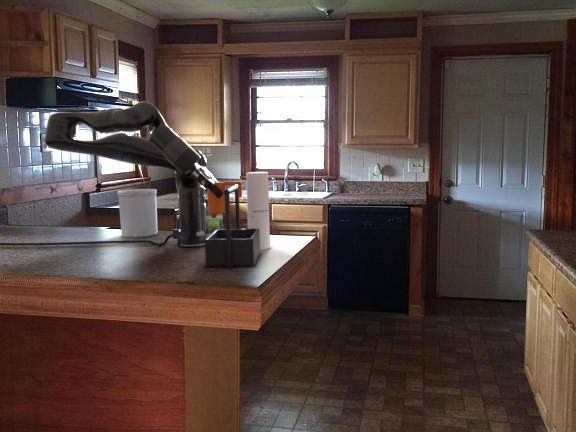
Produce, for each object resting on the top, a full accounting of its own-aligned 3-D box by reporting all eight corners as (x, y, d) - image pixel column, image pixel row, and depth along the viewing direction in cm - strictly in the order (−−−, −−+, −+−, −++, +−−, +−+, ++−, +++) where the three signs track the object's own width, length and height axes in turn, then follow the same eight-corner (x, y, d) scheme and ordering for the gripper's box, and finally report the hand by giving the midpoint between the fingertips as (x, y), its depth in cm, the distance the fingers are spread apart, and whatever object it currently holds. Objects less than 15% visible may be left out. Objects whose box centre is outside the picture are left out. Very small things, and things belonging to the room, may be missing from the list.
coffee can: (227, 234, 245) (226, 198, 243) (201, 236, 240) (200, 199, 239) (217, 231, 254) (216, 196, 253) (192, 233, 249) (191, 197, 248)
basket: (205, 268, 178) (201, 189, 176) (217, 253, 202) (215, 184, 200) (253, 267, 178) (251, 188, 175) (260, 252, 202) (258, 183, 199)
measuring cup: (206, 213, 186) (205, 182, 185) (209, 211, 191) (208, 181, 190) (241, 213, 186) (240, 182, 185) (243, 211, 191) (242, 181, 190)
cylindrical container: (267, 250, 207) (265, 172, 204) (245, 249, 208) (243, 173, 205) (272, 246, 214) (270, 171, 211) (251, 246, 215) (249, 172, 212)
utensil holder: (139, 238, 240) (137, 192, 238) (111, 236, 248) (109, 191, 246) (166, 233, 252) (164, 189, 250) (139, 231, 260) (137, 188, 258)
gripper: (177, 163, 195) (217, 202, 195) (166, 165, 180) (210, 206, 181) (194, 145, 194) (234, 184, 195) (184, 146, 180) (228, 187, 180)
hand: (222, 195), depth 188 cm, fingers closed on measuring cup, 5 cm apart
